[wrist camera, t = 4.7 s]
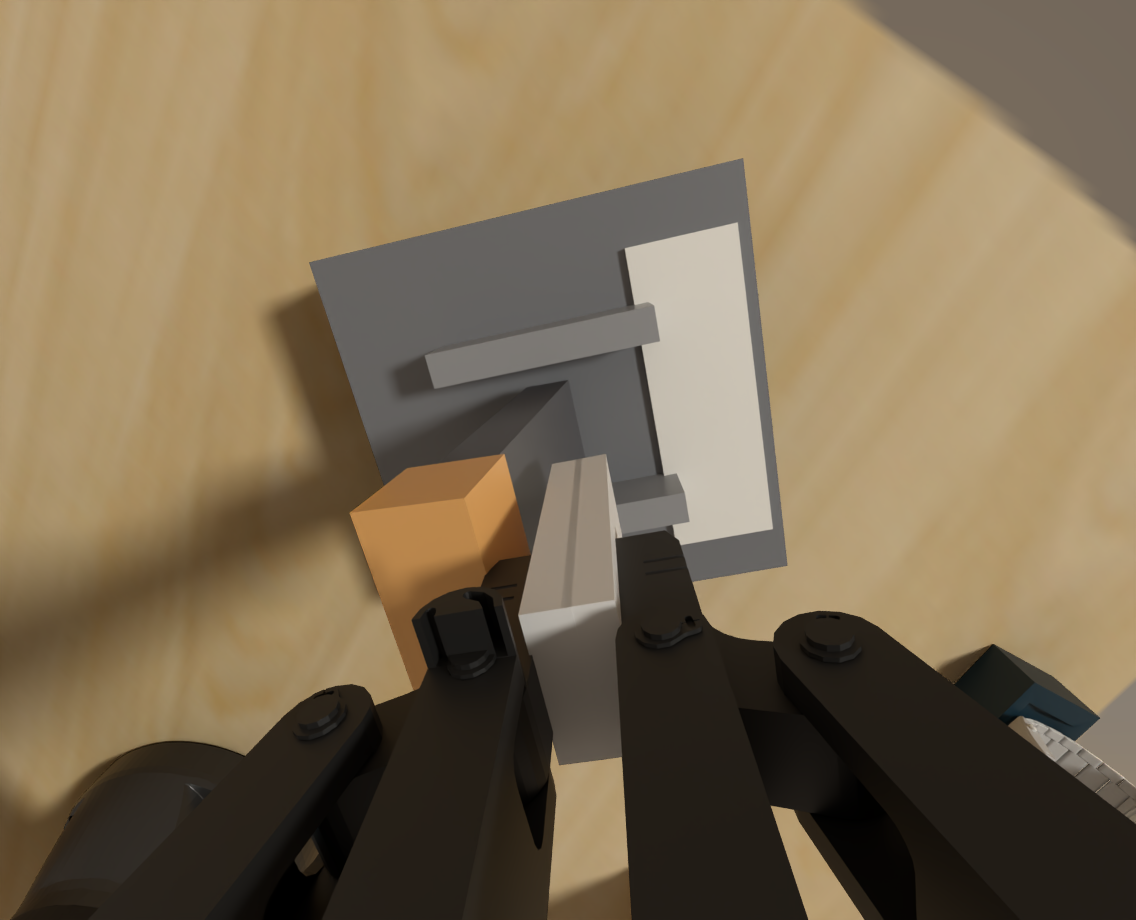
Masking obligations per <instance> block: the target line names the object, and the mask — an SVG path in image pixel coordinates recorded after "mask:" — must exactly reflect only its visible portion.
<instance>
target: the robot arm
mask: <svg viewBox="0 0 1136 920" xmlns="http://www.w3.org/2000/svg"><path fill="white" fill-rule="evenodd" d="M411 621H412V624H413V627H414V630H415V632H416V635H417V638H418V641H419V644H420V647H421V650H422V653H423V656H424V659H425V662H426V665H427V668H428V669H427V671H426V674H425V676H424V679H423V681H422V683H421V686H420V688H419V689H417V690H414V691H412V692H410V693H408V694H405V695H402V696H400V697H397V698H394V699H391V700H389V701H386V702H383V703H381V704H378V705H374V703H373V700H372V697H371V695H370V694H369V693H368V691H367V690H366V689H365V688H364V687H361V686H357V685H353V684H350V685H341V686H335V687H331V688H328V689H326V690H322V691H319V692H317V693H315V694H313V695H312V696H311V697H309V698H307V699H305V700H304V701H302V702H300V703H299V704H298V705H296V706H295V707H294V708H293V709H292V710H290V711H289V712H288V713H287V714H286V715H285V716H283V717H282V718H281V720H280V721H279V722H278V723H277V724H276V725H275V726H274V727H273V728H272V729H271V730H270V731H269V732H268V733H267V734H266V735H265V736H264V737H263V738H262V739H261V740H260V741H259V742H258V743H257V744H256V745H255V747H254V748H253V749H252V750H251V751H250V752H249V753H248V754H247V755H246V756H245V757H243V756H241V755H239V754H236V753H233V752H231V751H228V750H224V749H221V748H217V747H213V746H208V745H203V744H196V743H184V742H174V743H161V744H155V745H150V746H146V747H143V748H140V749H137V750H134V751H132V752H130V753H128V754H126V755H124V756H122V757H121V758H119V759H118V760H117V761H115V762H114V763H113V764H112V765H111V766H110V767H109V768H108V769H107V770H106V771H105V772H104V773H103V774H102V775H101V776H100V777H99V778H98V779H97V780H96V781H95V782H94V783H93V784H92V785H91V786H90V787H89V789H88V790H87V791H86V792H85V793H84V794H83V795H82V796H81V798H80V799H79V800H78V802H77V803H76V804H75V806H74V808H73V809H72V811H71V813H70V816H69V818H68V820H67V822H66V825H65V827H64V831H63V832H62V834H61V836H60V837H59V839H58V841H57V842H56V844H55V846H54V847H53V849H52V851H51V853H50V854H49V856H48V858H47V859H46V861H45V863H44V865H43V866H42V868H41V870H40V872H39V874H38V875H37V877H36V879H35V881H34V883H33V884H32V886H31V888H30V890H29V892H28V893H27V895H26V897H25V899H24V901H23V902H22V904H21V906H20V907H19V909H18V910H17V912H16V913H15V914H14V916H13V917H12V918H11V919H10V920H547V912H548V899H549V886H550V873H551V860H552V846H553V833H554V820H555V807H556V791H555V784H554V780H553V776H552V773H551V769H550V762H551V751H552V740H553V744H554V748H555V751H556V755H557V759H558V762H559V765H565V764H573V763H580V762H588V761H596V760H604V759H610V758H618V757H622V764H623V781H624V798H625V814H626V831H627V848H628V865H629V881H630V898H631V915H632V920H808V917H807V914H806V911H805V908H804V905H803V902H802V899H801V896H800V893H799V890H798V887H797V884H796V881H795V878H794V875H793V872H792V869H791V866H790V863H789V860H788V857H787V854H786V851H785V848H784V845H783V842H782V839H781V836H780V833H779V830H778V827H777V824H776V821H775V818H774V815H773V812H772V809H771V806H777V807H782V808H788V809H793V810H794V811H795V813H796V816H797V818H798V820H799V822H800V824H801V825H802V827H803V828H804V830H805V831H806V833H807V834H808V836H809V837H810V839H811V840H812V842H813V843H814V845H815V846H816V848H817V849H818V851H819V852H820V854H821V855H822V857H823V858H824V860H825V861H826V863H827V864H828V866H829V867H830V869H831V870H832V872H833V873H834V875H835V876H836V878H837V879H838V881H839V882H840V884H841V885H842V887H843V888H844V890H845V891H846V893H847V894H848V896H849V897H850V899H851V900H852V902H853V903H854V905H855V906H856V908H857V909H858V911H859V912H860V914H861V915H862V917H863V918H864V920H1136V823H1134V822H1133V821H1132V820H1130V819H1129V818H1128V817H1126V816H1125V815H1124V814H1122V813H1121V812H1120V811H1119V810H1117V809H1116V808H1115V807H1113V806H1112V805H1111V804H1109V803H1108V802H1107V801H1105V800H1104V799H1103V798H1102V797H1100V796H1099V795H1098V794H1096V793H1095V792H1094V791H1092V790H1091V789H1090V788H1088V787H1087V786H1086V785H1084V784H1083V783H1082V782H1081V781H1079V780H1078V779H1077V778H1075V777H1074V776H1073V775H1071V774H1070V773H1069V772H1067V771H1066V770H1065V769H1064V768H1062V767H1061V766H1060V765H1058V764H1057V763H1056V762H1054V761H1053V760H1052V759H1050V758H1049V757H1048V756H1047V755H1045V754H1044V753H1043V752H1041V751H1040V750H1039V749H1037V748H1036V747H1035V746H1033V745H1032V744H1031V743H1030V742H1028V741H1027V740H1026V739H1024V738H1023V737H1022V736H1020V735H1019V734H1018V733H1016V732H1015V731H1014V730H1013V729H1011V728H1010V727H1009V726H1007V725H1006V724H1005V723H1003V722H1002V721H1001V720H999V719H998V718H997V717H996V716H994V715H993V714H992V713H990V712H989V711H988V710H986V709H985V708H984V707H982V706H981V705H980V704H979V703H977V702H976V701H975V700H973V699H972V698H971V697H969V696H968V695H967V694H965V693H964V692H963V691H961V690H960V689H959V688H958V687H956V686H955V685H954V684H952V683H951V682H950V681H948V680H947V679H946V678H944V677H943V676H942V675H941V674H939V673H938V672H937V671H935V670H934V669H933V668H931V667H930V666H929V665H927V664H926V663H925V662H924V661H922V660H921V659H920V658H918V657H917V656H916V655H914V654H913V653H912V652H910V651H909V650H908V649H907V648H905V647H904V646H903V645H901V644H900V643H899V642H897V641H896V640H895V639H893V638H892V637H891V636H890V635H888V634H887V633H886V632H884V631H883V630H882V629H880V628H879V627H878V626H876V625H874V624H872V623H870V622H868V621H867V620H865V619H863V618H861V617H858V616H854V615H850V614H846V613H842V612H831V611H815V612H809V613H804V614H799V615H797V616H795V617H792V618H790V619H788V620H786V621H784V622H783V623H782V624H781V625H780V627H779V628H778V629H777V630H776V631H775V632H774V641H773V642H771V641H756V640H748V639H741V638H736V637H733V636H730V635H726V634H724V633H722V632H720V631H718V630H716V629H715V628H713V627H712V626H711V625H710V623H709V622H708V621H707V619H706V618H705V616H704V615H703V614H702V612H701V609H700V606H699V602H698V599H697V596H696V593H695V590H694V586H693V583H692V580H691V577H690V574H689V570H688V568H687V564H686V561H685V557H684V554H683V551H682V548H681V545H680V541H679V540H678V539H677V538H675V537H674V536H672V535H671V534H670V533H668V532H667V531H665V530H663V531H657V532H651V533H645V534H640V535H634V536H628V537H622V533H621V528H620V523H619V518H618V513H617V508H616V503H615V498H614V493H613V488H612V483H611V478H610V473H609V468H608V463H607V458H606V454H603V455H598V456H592V457H587V458H582V459H576V460H571V461H566V462H560V463H555V464H552V467H551V471H550V476H549V480H548V484H547V489H546V493H545V498H544V502H543V507H542V511H541V516H540V520H539V525H538V529H537V534H536V538H535V543H534V547H533V552H532V555H527V556H522V557H516V558H510V559H504V560H499V561H498V562H497V563H496V564H495V565H494V566H493V567H492V568H491V569H490V570H489V571H488V573H487V574H486V575H485V576H484V579H483V581H482V584H481V587H467V588H463V589H459V590H455V591H451V592H448V593H446V594H444V595H442V596H440V597H438V598H435V599H433V600H432V601H430V602H429V603H428V604H426V605H425V606H424V607H422V608H421V609H420V610H419V611H418V612H417V613H416V615H415V616H414V617H413V618H412V619H411ZM770 805H771V806H770ZM318 853H319V854H318Z"/></svg>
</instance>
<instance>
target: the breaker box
mask: <svg viewBox="0 0 1136 920" xmlns="http://www.w3.org/2000/svg"><path fill="white" fill-rule="evenodd" d="M309 264H310V267H311V270H312V273H313V276H314V279H315V282H316V284H317V287H318V290H319V293H320V296H321V299H322V302H323V305H324V308H325V311H326V314H327V317H328V320H329V323H330V326H331V329H332V332H333V335H334V338H335V341H336V344H337V347H338V350H339V353H340V356H341V359H342V362H343V365H344V368H345V371H346V374H347V377H348V380H349V383H350V386H351V389H352V392H353V395H354V398H355V401H356V404H357V407H358V410H359V413H360V416H361V419H362V421H363V424H364V427H365V430H366V433H367V436H368V439H369V442H370V445H371V448H372V451H373V454H374V457H375V460H376V463H377V466H378V469H379V472H380V475H381V478H382V481H383V484H384V486H385V485H386V484H387V483H389V482H390V481H391V480H393V479H394V478H395V477H396V476H398V475H399V474H400V473H402V472H403V471H404V470H405V469H407V468H411V467H418V466H425V465H432V464H437V463H439V462H440V461H441V460H442V459H443V458H445V457H446V456H447V455H448V454H449V453H450V452H452V451H453V450H454V449H455V448H456V447H457V446H459V445H460V444H461V443H462V442H463V441H464V440H466V439H467V438H468V437H469V436H470V435H471V434H473V433H474V432H475V431H476V430H477V429H479V428H480V427H481V426H482V425H483V424H484V423H486V422H487V421H488V420H489V419H490V418H491V417H493V416H494V415H495V414H496V413H497V412H498V411H500V410H501V409H502V408H503V407H504V406H506V405H507V404H508V403H509V402H510V401H511V400H513V399H514V398H515V397H516V396H517V395H518V394H520V393H521V392H522V391H523V390H524V389H525V388H527V387H531V386H537V385H542V384H548V383H553V382H559V381H565V380H569V385H570V390H571V394H572V399H573V403H574V408H575V413H576V417H577V422H578V427H579V431H580V436H581V440H582V445H583V450H584V454H585V458H587V457H592V456H598V455H603V454H606V458H607V463H608V468H609V473H610V478H611V483H612V488H613V493H614V498H615V503H616V508H617V513H618V518H619V523H620V528H621V533H622V537H628V536H634V535H640V534H645V533H651V532H657V531H663V530H665V531H667V532H668V533H670V534H671V535H672V536H674V537H675V538H677V539H678V540H679V541H680V545H681V548H682V551H683V554H684V557H685V561H686V564H687V568H688V570H689V574H690V577H691V580H692V582H694V581H700V580H706V579H712V578H717V577H723V576H729V575H735V574H741V573H747V572H753V571H759V570H765V569H771V568H777V567H783V566H787V557H786V548H785V538H784V529H783V520H782V511H781V502H780V492H779V483H778V474H777V465H776V456H775V446H774V437H773V428H772V419H771V410H770V401H769V391H768V382H767V373H766V364H765V355H764V345H763V336H762V327H761V318H760V309H759V299H758V290H757V281H756V272H755V263H754V254H753V244H752V235H751V226H750V217H749V208H748V198H747V189H746V180H745V171H744V162H743V158H742V159H738V160H734V161H730V162H725V163H721V164H717V165H713V166H709V167H705V168H700V169H696V170H692V171H688V172H684V173H680V174H675V175H671V176H667V177H663V178H659V179H655V180H650V181H646V182H642V183H638V184H634V185H630V186H625V187H621V188H617V189H613V190H609V191H605V192H600V193H596V194H592V195H588V196H584V197H580V198H575V199H571V200H567V201H563V202H559V203H555V204H550V205H546V206H542V207H538V208H534V209H530V210H526V211H521V212H517V213H513V214H509V215H505V216H501V217H496V218H492V219H488V220H484V221H480V222H476V223H471V224H467V225H463V226H459V227H455V228H451V229H446V230H442V231H438V232H434V233H430V234H426V235H421V236H417V237H413V238H409V239H405V240H401V241H396V242H392V243H388V244H384V245H380V246H376V247H371V248H367V249H363V250H359V251H355V252H351V253H346V254H342V255H338V256H334V257H330V258H326V259H322V260H317V261H313V262H309Z"/></svg>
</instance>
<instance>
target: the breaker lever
mask: <svg viewBox="0 0 1136 920" xmlns="http://www.w3.org/2000/svg"><path fill="white" fill-rule="evenodd" d="M582 458H585V454H584V450H583V445H582V440H581V436H580V431H579V427H578V422H577V417H576V413H575V408H574V403H573V399H572V394H571V390H570V385H569V380H565V381H559V382H553V383H548V384H542V385H537V386H531V387H527V388H525V389H524V390H523V391H522V392H521V393H520V394H518V395H517V396H516V397H515V398H514V399H513V400H511V401H510V402H509V403H508V404H507V405H506V406H504V407H503V408H502V409H501V410H500V411H498V412H497V413H496V414H495V415H494V416H493V417H491V418H490V419H489V420H488V421H487V422H486V423H484V424H483V425H482V426H481V427H480V428H479V429H477V430H476V431H475V432H474V433H473V434H471V435H470V436H469V437H468V438H467V439H466V440H464V441H463V442H462V443H461V444H460V445H459V446H457V447H456V448H455V449H454V450H453V451H452V452H450V453H449V454H448V455H447V456H446V457H445V458H443V459H442V460H441V461H440V462H439V463H437V464H432V465H425V466H418V467H411V468H407V469H405V470H404V471H403V472H402V473H400V474H399V475H398V476H396V477H395V478H394V479H393V480H391V481H390V482H389V483H387V484H386V485H385V486H384V487H382V488H381V489H380V490H378V491H377V492H376V493H375V494H373V495H372V496H371V497H369V498H368V499H367V500H366V501H364V502H363V503H362V504H360V505H359V506H358V507H357V508H355V509H354V510H353V511H351V512H350V515H351V518H352V521H353V524H354V526H355V529H356V532H357V535H358V538H359V540H360V543H361V546H362V549H363V551H364V554H365V557H366V560H367V562H368V565H369V568H370V571H371V574H372V576H373V579H374V582H375V585H376V587H377V590H378V593H379V596H380V598H381V601H382V604H383V607H384V610H385V612H386V615H387V618H388V621H389V623H390V626H391V629H392V632H393V634H394V637H395V640H396V643H397V646H398V648H399V651H400V654H401V657H402V659H403V662H404V665H405V668H406V670H407V673H408V676H409V679H410V682H411V684H412V687H413V690H417V689H419V688H420V686H421V683H422V681H423V679H424V676H425V674H426V671H427V669H428V668H427V665H426V662H425V659H424V656H423V653H422V650H421V647H420V644H419V641H418V638H417V635H416V632H415V630H414V627H413V624H412V621H411V619H412V618H413V617H414V616H415V615H416V613H417V612H418V611H419V610H420V609H421V608H422V607H424V606H425V605H426V604H428V603H429V602H430V601H432V600H433V599H435V598H438V597H440V596H442V595H444V594H446V593H448V592H451V591H455V590H459V589H463V588H467V587H481V584H482V581H483V579H484V576H485V575H486V574H487V573H488V571H489V570H490V569H491V568H492V567H493V566H494V565H495V564H496V563H497V562H498V561H499V560H504V559H510V558H516V557H522V556H527V555H532V552H533V547H534V543H535V538H536V534H537V529H538V525H539V520H540V516H541V511H542V507H543V502H544V498H545V493H546V489H547V484H548V480H549V476H550V471H551V467H552V464H555V463H560V462H566V461H571V460H576V459H582Z"/></svg>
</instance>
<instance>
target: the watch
mask: <svg viewBox="0 0 1136 920" xmlns="http://www.w3.org/2000/svg"><path fill="white" fill-rule="evenodd" d="M955 686H956V687H958V688H959V689H960V690H961V691H963V692H964V693H965V694H967V695H968V696H969V697H971V698H972V699H973V700H975V701H976V702H977V703H979V704H980V705H981V706H982V707H984V708H985V709H986V710H988V711H989V712H990V713H992V714H993V715H994V716H996V717H997V718H998V719H999V720H1001V721H1002V722H1003V723H1005V724H1006V725H1007V726H1009V727H1010V728H1011V729H1013V730H1014V731H1015V732H1016V733H1018V734H1019V735H1020V736H1022V737H1023V738H1024V739H1026V740H1027V741H1028V742H1030V743H1031V744H1032V745H1033V746H1035V747H1036V748H1037V749H1039V750H1040V751H1041V752H1043V753H1044V754H1045V755H1047V756H1048V757H1049V758H1050V759H1052V760H1053V761H1054V762H1056V763H1057V764H1058V765H1060V766H1061V767H1062V768H1064V769H1065V770H1066V771H1067V772H1069V773H1070V774H1071V775H1073V776H1074V777H1075V778H1077V779H1078V780H1079V781H1081V782H1082V783H1083V784H1084V785H1086V786H1087V787H1088V788H1090V789H1091V790H1092V791H1094V792H1096V791H1097V790H1098V789H1100V788H1101V787H1102V786H1103V785H1104V784H1105V783H1106V782H1108V781H1109V780H1111V781H1109V782H1108V783H1107V784H1106V785H1105V786H1104V787H1102V789H1100V790H1099V791H1098V792H1097V793H1096V794H1098V795H1099V796H1100V797H1102V798H1103V799H1104V800H1105V801H1107V802H1108V803H1109V804H1111V805H1112V806H1113V807H1115V808H1116V809H1117V810H1119V811H1120V812H1121V813H1122V814H1124V815H1125V816H1126V817H1128V818H1129V819H1130V820H1132V821H1133V822H1134V823H1136V787H1135V786H1134V785H1133V784H1132V783H1130V782H1129V781H1128V780H1124V779H1125V778H1124V777H1123V776H1122V775H1121V774H1119V773H1118V772H1116V771H1115V770H1114V769H1112V768H1111V767H1110V766H1108V765H1107V764H1105V763H1103V761H1102V760H1101V759H1099V758H1098V757H1096V756H1095V755H1094V754H1092V753H1091V752H1089V751H1088V750H1086V749H1085V748H1082V746H1081V745H1079V744H1078V743H1076V742H1075V741H1076V740H1077V739H1078V738H1079V737H1080V736H1081V735H1082V734H1083V733H1084V732H1085V731H1087V730H1088V729H1089V728H1090V727H1091V726H1092V725H1093V724H1094V723H1095V722H1096V721H1097V720H1099V719H1100V717H1098V716H1097V715H1096V714H1095V713H1094V712H1093V711H1092V710H1090V709H1089V708H1088V707H1087V706H1086V705H1085V704H1084V703H1083V702H1081V701H1080V700H1079V699H1078V698H1077V697H1076V696H1075V695H1073V694H1072V693H1071V692H1070V691H1069V690H1068V689H1067V688H1065V687H1064V686H1063V685H1062V684H1061V683H1060V682H1059V681H1057V680H1056V679H1055V678H1054V677H1053V676H1051V675H1049V674H1047V673H1045V672H1044V671H1042V670H1040V669H1038V668H1036V667H1034V666H1033V665H1031V664H1029V663H1027V662H1025V661H1024V660H1022V659H1020V658H1018V657H1016V656H1014V655H1013V654H1011V653H1009V652H1007V651H1005V650H1003V649H1002V648H1000V647H998V646H996V645H994V644H993V645H992V646H991V647H990V648H989V649H988V650H987V651H986V652H985V653H984V654H983V655H982V656H981V657H980V659H979V660H978V661H977V662H976V663H975V664H974V665H973V666H972V667H971V668H970V669H969V670H968V671H967V672H966V673H965V674H964V675H963V676H962V677H961V678H960V679H959V680H958V681H957V682H956V683H955ZM1088 763H1089V764H1088ZM1101 763H1103V764H1102V765H1101V766H1099V765H1100V764H1101ZM1087 764H1088V765H1087ZM1086 765H1087V766H1086ZM1085 766H1086V767H1085ZM1098 766H1099V767H1098ZM1097 767H1098V769H1097ZM1082 768H1083V769H1082ZM1081 769H1082V770H1081ZM1080 770H1081V771H1080ZM1079 771H1080V772H1079ZM1078 772H1079V773H1078ZM1077 773H1078V774H1077ZM1076 774H1077V775H1076ZM1075 775H1076V776H1075ZM1123 780H1124V781H1123ZM1122 781H1123V782H1122ZM1121 782H1122V783H1121ZM1119 783H1121V784H1119ZM1118 784H1119V785H1118Z"/></svg>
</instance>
